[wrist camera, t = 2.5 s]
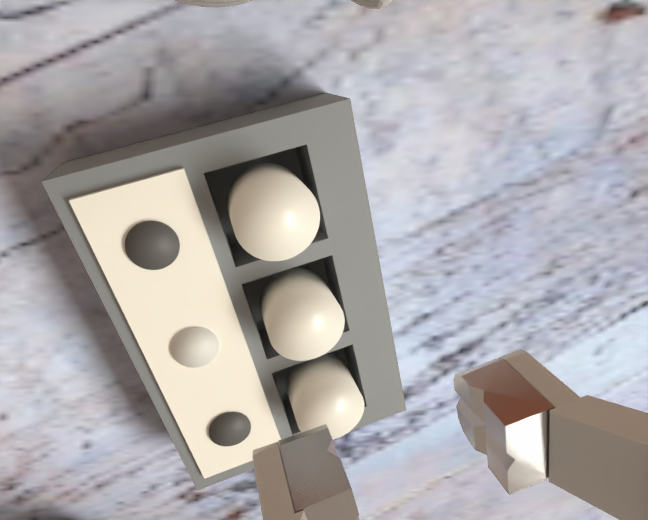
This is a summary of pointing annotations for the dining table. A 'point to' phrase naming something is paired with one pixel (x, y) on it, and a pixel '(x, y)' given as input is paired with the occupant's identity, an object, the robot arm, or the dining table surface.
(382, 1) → the teacup
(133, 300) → the button board
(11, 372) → the dining table surface
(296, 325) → the button
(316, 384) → the button
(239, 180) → the button
